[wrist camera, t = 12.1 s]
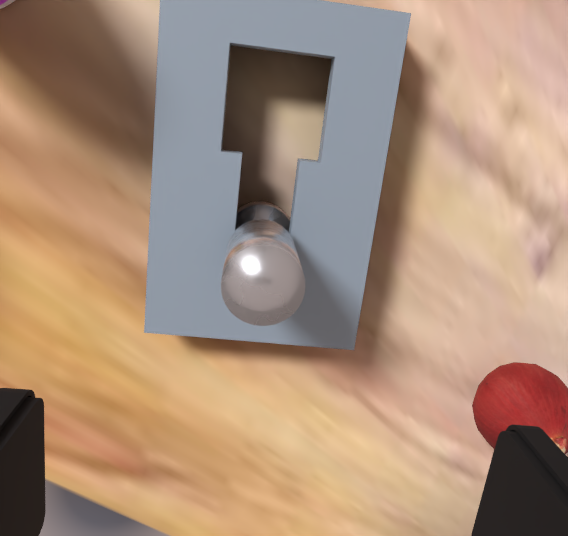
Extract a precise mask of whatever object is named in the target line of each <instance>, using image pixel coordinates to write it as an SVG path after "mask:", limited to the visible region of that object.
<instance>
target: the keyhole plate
mask: <svg viewBox="0 0 568 536" xmlns="http://www.w3.org/2000/svg"><path fill="white" fill-rule="evenodd" d="M410 16H411V13H405V12H398V11H391V10H384V9H377V8H370V7H363V6H356V5H349V4H342V3H335V2H328V1H321V0H160V15H159V36H158V57H157V78H156V99H155V120H154V141H153V162H152V182H151V203H150V224H149V245H148V266H147V287H146V308H145V329H144V333H156V334H168V335H180V336H192V337H204V338H216V339H228V340H239V341H251V342H263V343H275V344H287V345H299V346H311V347H323V348H334V349H346V350H354V347H355V341H356V335H357V329H358V323H359V318H360V312H361V306H362V300H363V294H364V288H365V282H366V276H367V270H368V264H369V259H370V253H371V247H372V241H373V235H374V229H375V223H376V217H377V211H378V205H379V199H380V194H381V188H382V182H383V176H384V170H385V164H386V158H387V152H388V146H389V140H390V135H391V129H392V123H393V117H394V111H395V105H396V99H397V93H398V87H399V81H400V75H401V70H402V64H403V58H404V52H405V46H406V40H407V34H408V28H409V22H410ZM231 45H232V46H239V47H247V48H254V49H262V50H269V51H277V52H284V53H292V54H299V55H307V56H314V57H322V58H329V59H332V60H331V68H330V75H329V83H328V90H327V98H326V105H325V112H324V120H323V127H322V135H321V142H320V150H319V157H318V161H316V160H307V159H298V162H297V170H296V178H295V186H294V195H293V203H292V211H291V219H290V227H289V234H290V235H291V237H292V239H293V242H294V244H295V248H296V251H297V254H298V257H299V261H300V264H301V267H302V270H303V273H304V277H305V294H304V297H303V300H302V302H301V304H300V306H299V308H298V309H297V310H296V311H295V313H294V314H293V315H291V316H290V317H289V318H287V319H286V320H284V321H282V322H280V323H277V324H274V325H270V326H256V325H252V324H248V323H246V322H243V321H242V320H240V319H238V318H237V317H236V316H234V315H233V314H232V313H231V312H230V310H229V309H228V308H227V306H226V304H225V303H224V300H223V297H222V294H221V279H222V273H223V268H224V262H225V257H226V251H227V245H228V242H229V240H230V237H231V236H232V234H233V233H234V232H235V227H236V216H237V205H238V195H239V184H240V173H241V163H242V152H238V151H229V150H222V143H223V131H224V119H225V107H226V95H227V83H228V71H229V59H230V47H231Z"/></svg>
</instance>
